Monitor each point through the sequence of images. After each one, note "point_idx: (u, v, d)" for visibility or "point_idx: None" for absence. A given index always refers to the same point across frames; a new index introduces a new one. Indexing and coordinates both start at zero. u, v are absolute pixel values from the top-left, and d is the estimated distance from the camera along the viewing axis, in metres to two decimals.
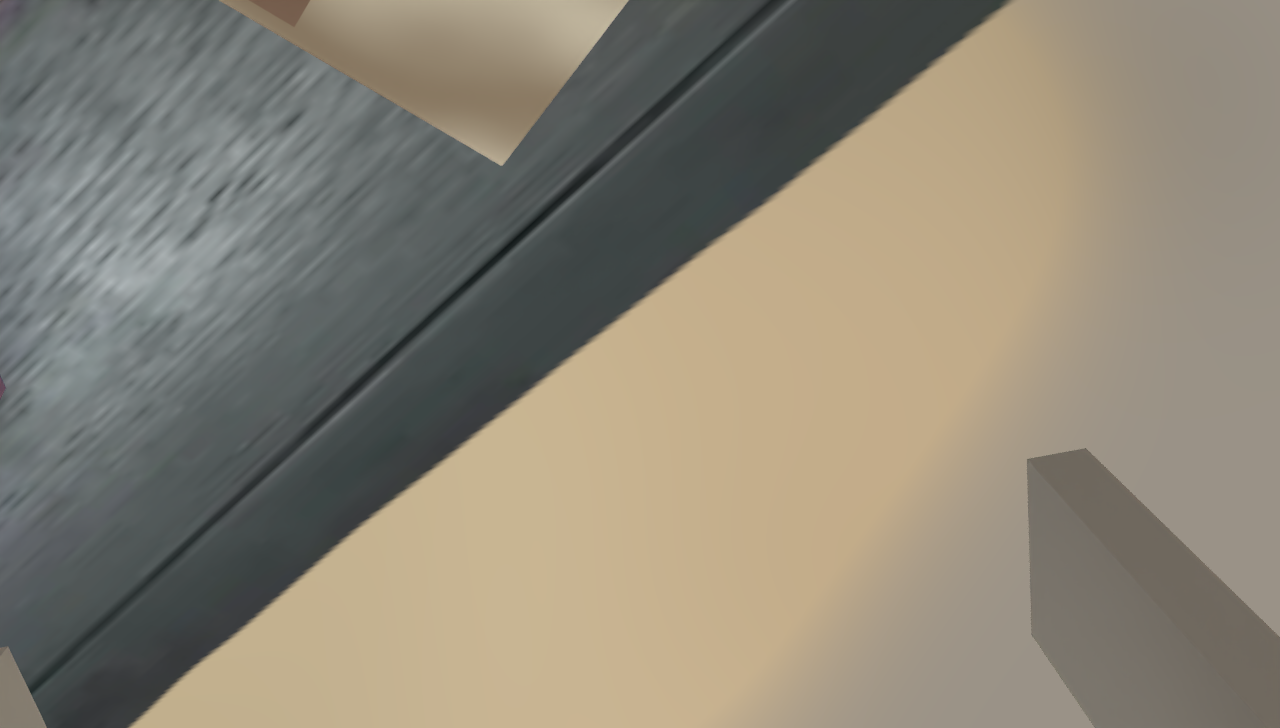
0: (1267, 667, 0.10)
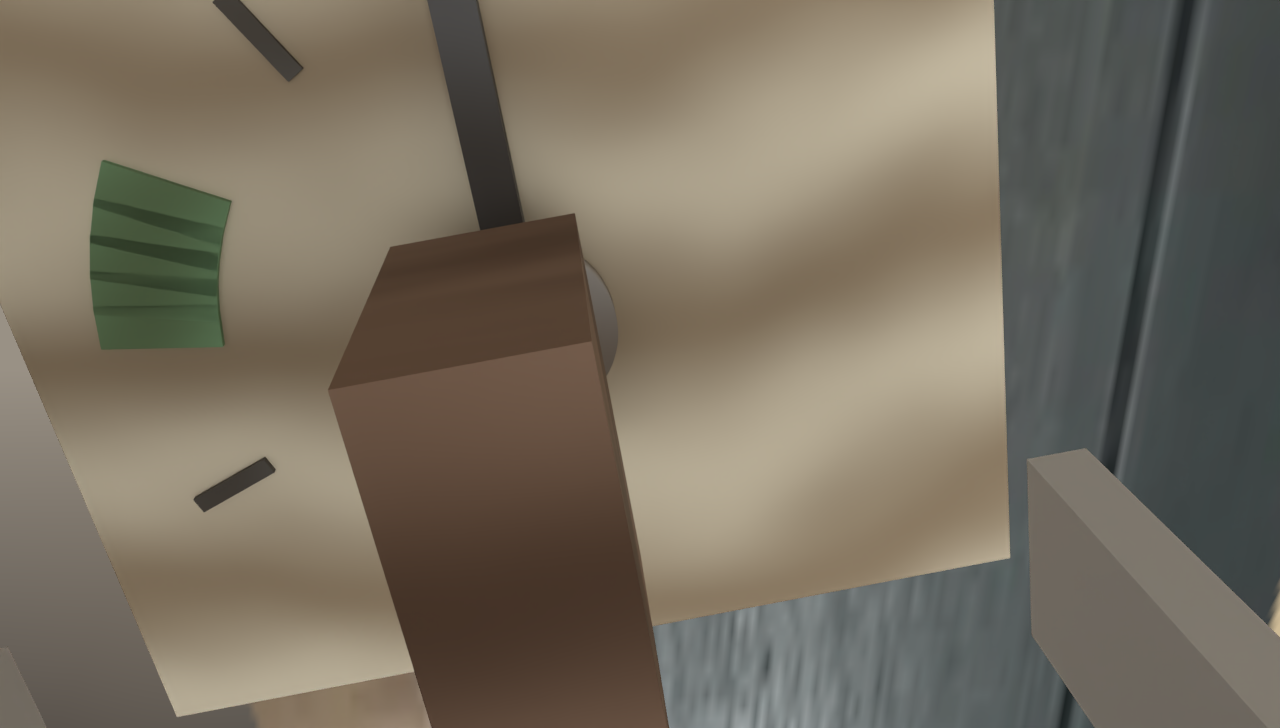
0: (1267, 667, 0.10)
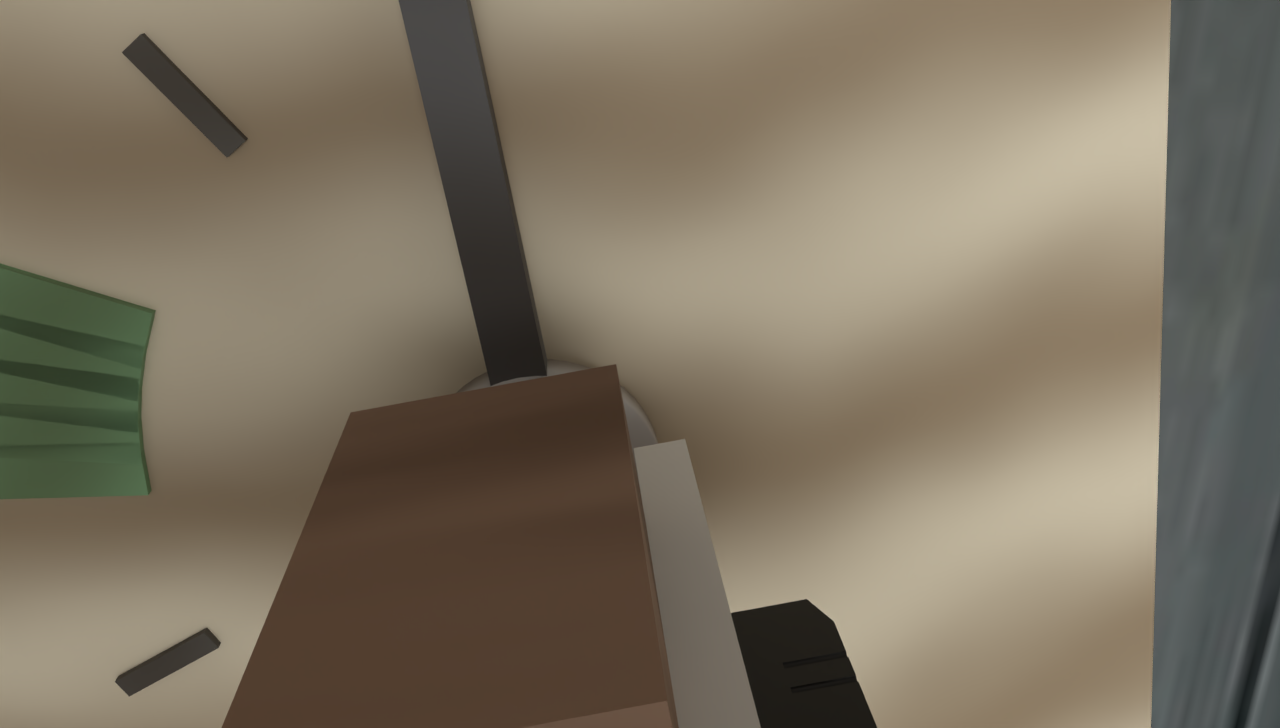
0: (699, 615, 0.12)
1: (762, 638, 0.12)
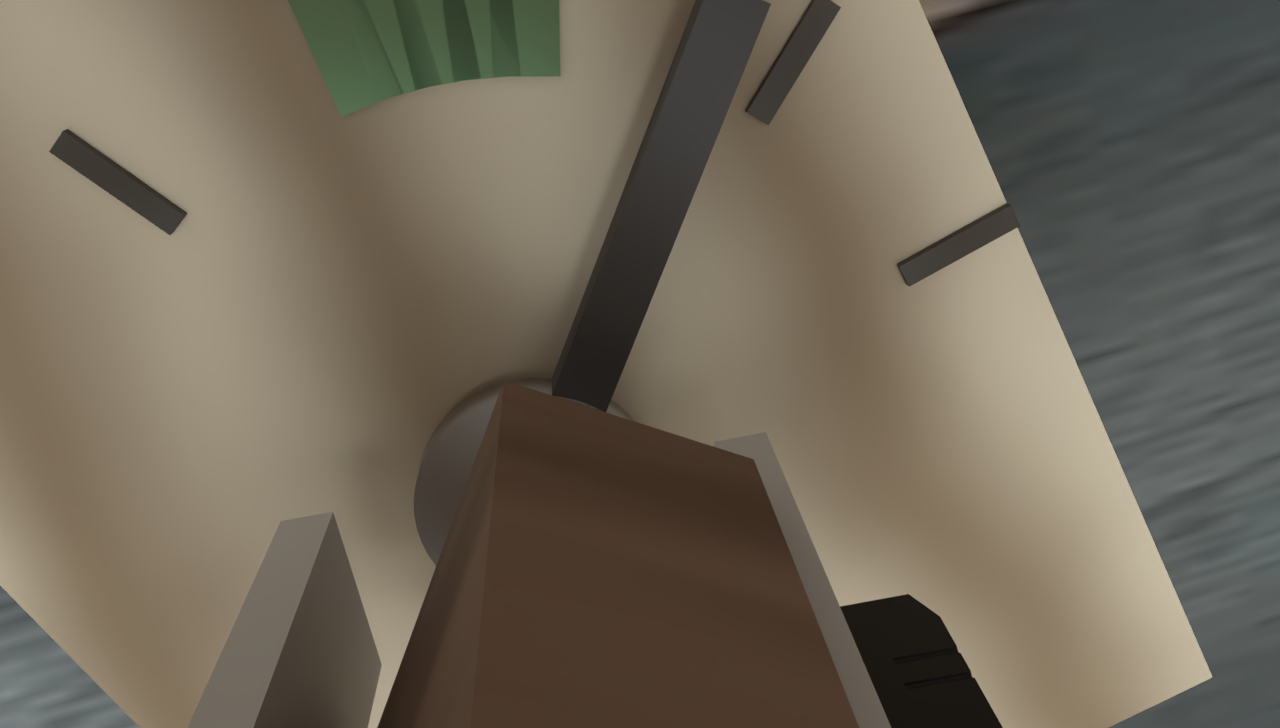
0: None
1: (867, 634, 0.12)
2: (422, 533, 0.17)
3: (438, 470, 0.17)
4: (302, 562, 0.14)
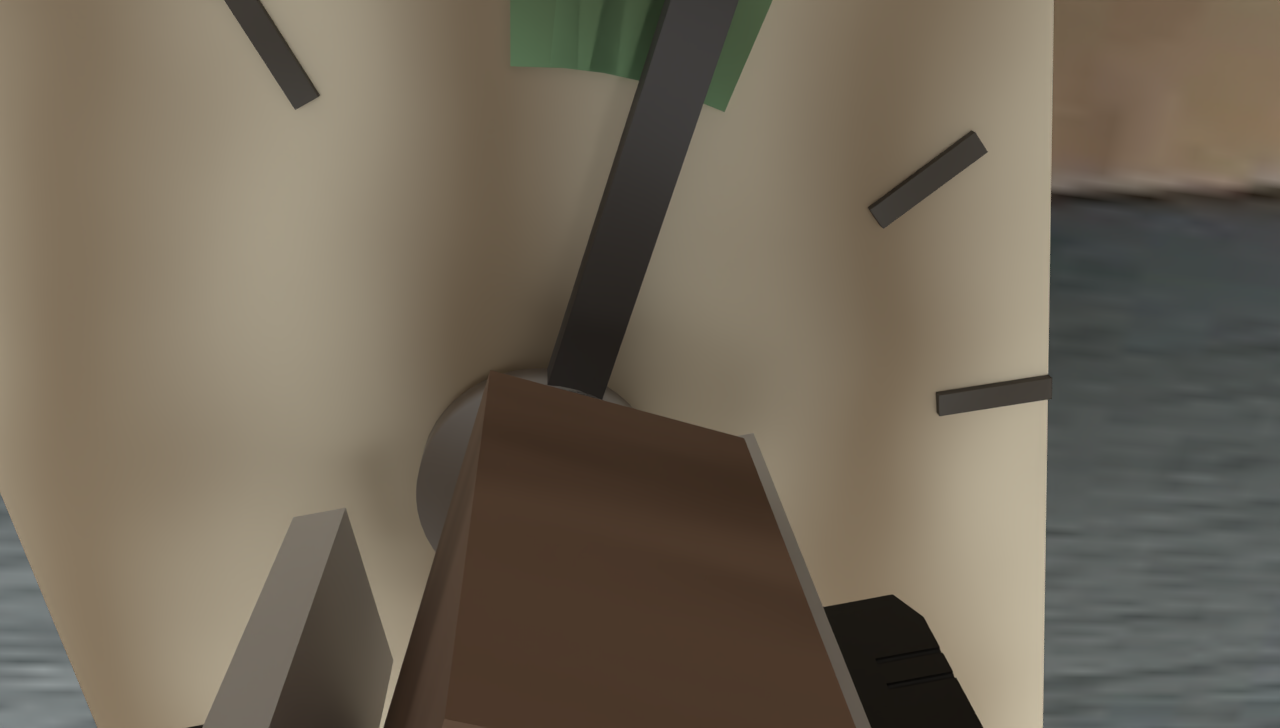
0: None
1: (851, 633, 0.12)
2: (426, 528, 0.18)
3: (438, 465, 0.17)
4: (316, 557, 0.14)
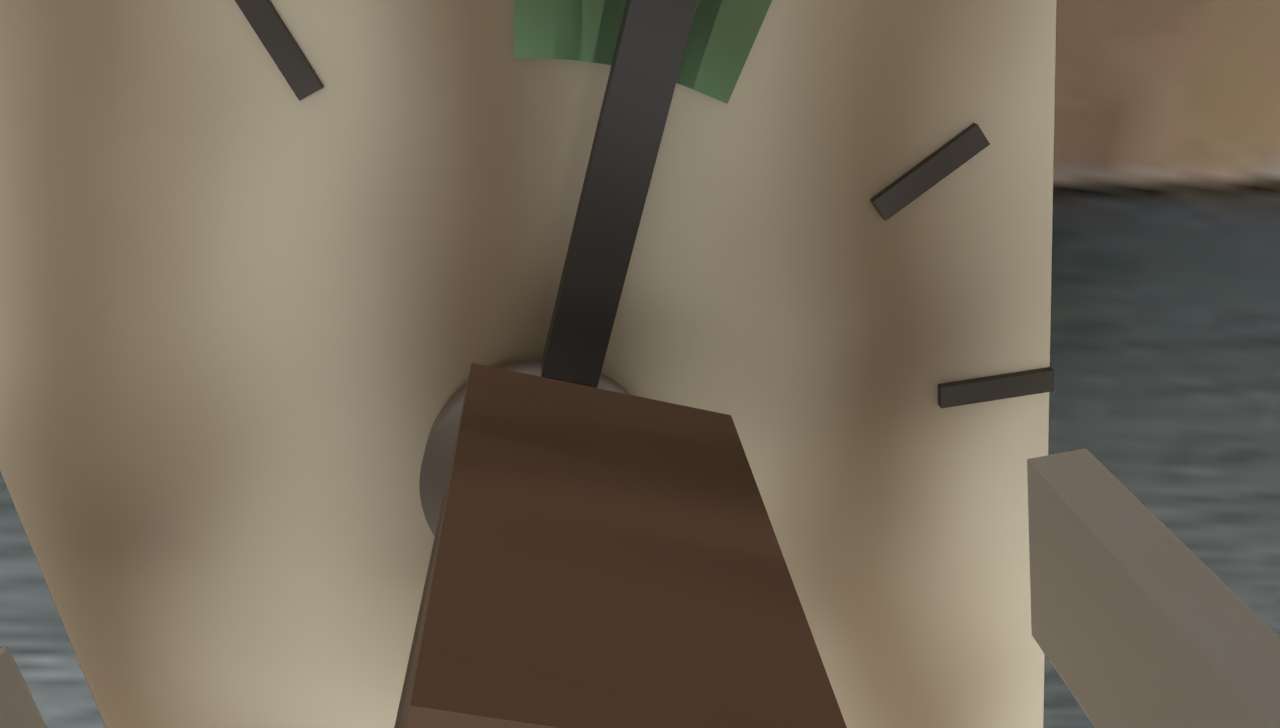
0: (1267, 667, 0.10)
1: None
2: (432, 525, 0.18)
3: (440, 462, 0.17)
4: None
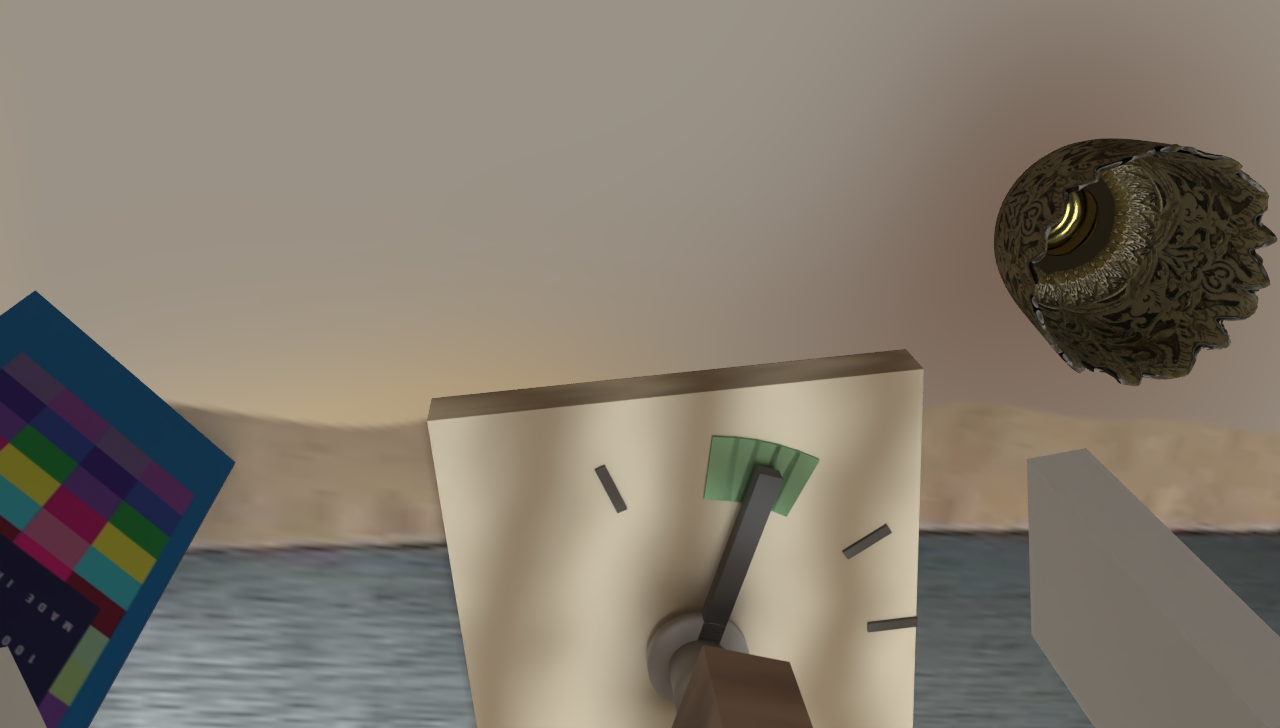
0: (1267, 667, 0.10)
1: None
2: (651, 679, 0.42)
3: (658, 654, 0.41)
4: None
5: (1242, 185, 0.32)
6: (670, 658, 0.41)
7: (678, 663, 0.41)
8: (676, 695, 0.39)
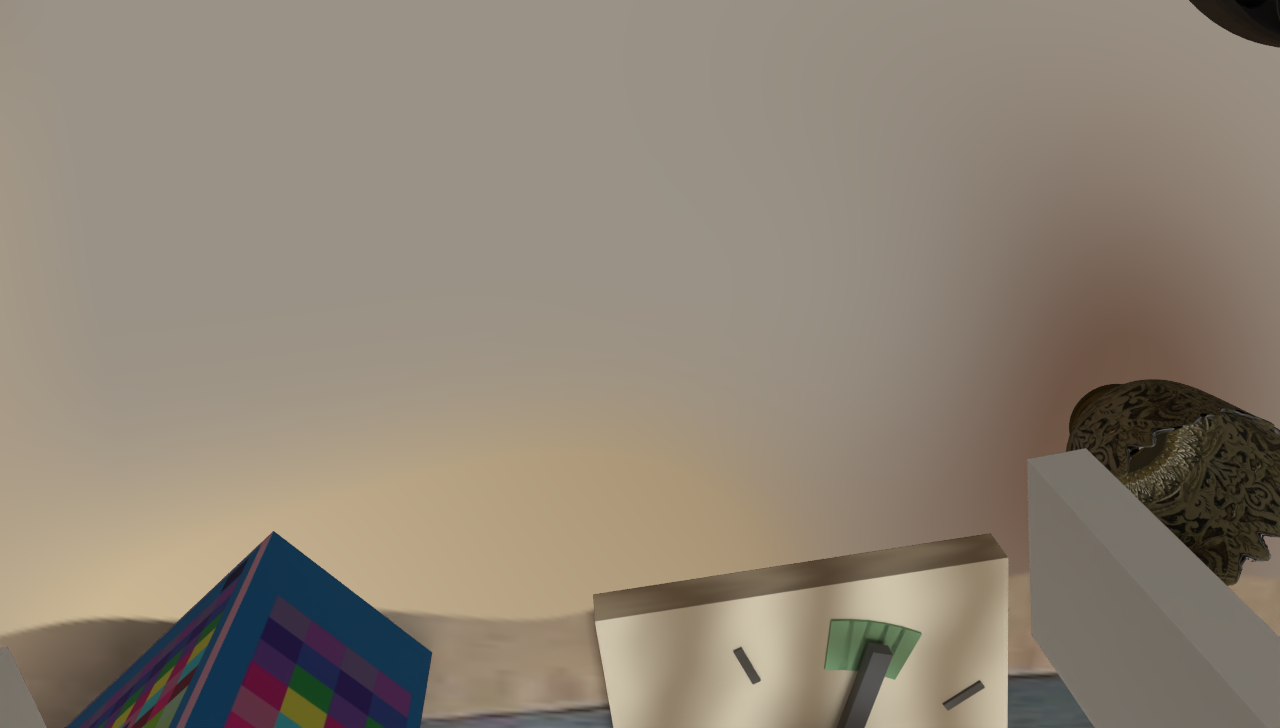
0: (1266, 667, 0.10)
1: None
2: None
3: None
4: None
5: (1275, 436, 0.39)
6: None
7: None
8: None
